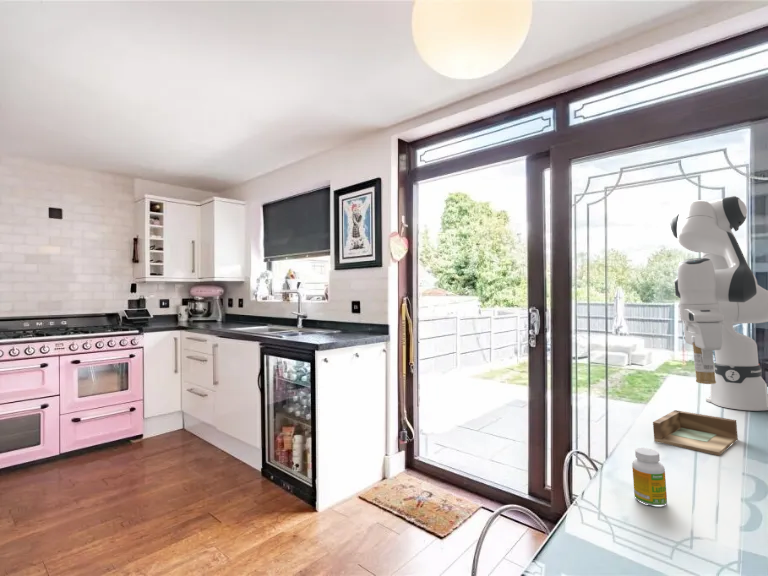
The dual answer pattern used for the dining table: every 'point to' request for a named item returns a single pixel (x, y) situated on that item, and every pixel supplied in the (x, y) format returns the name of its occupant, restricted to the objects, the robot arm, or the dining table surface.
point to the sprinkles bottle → (703, 367)
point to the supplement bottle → (649, 477)
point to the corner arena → (696, 431)
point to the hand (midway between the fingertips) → (703, 362)
